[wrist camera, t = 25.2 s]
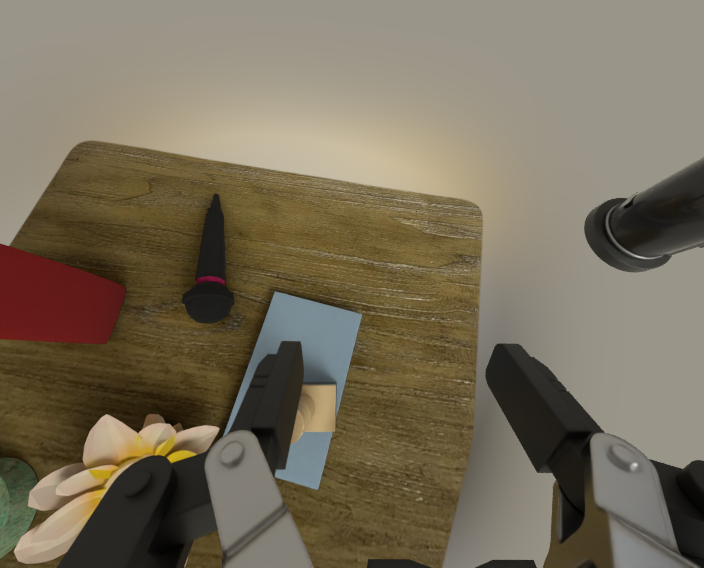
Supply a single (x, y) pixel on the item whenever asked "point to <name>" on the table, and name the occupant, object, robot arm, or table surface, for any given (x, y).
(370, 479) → the table surface
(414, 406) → the table surface
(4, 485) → the decorative artifact
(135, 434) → the decorative flower
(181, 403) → the table surface
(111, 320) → the red curved piece
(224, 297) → the microphone
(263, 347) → the mat
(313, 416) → the wooden stamp
